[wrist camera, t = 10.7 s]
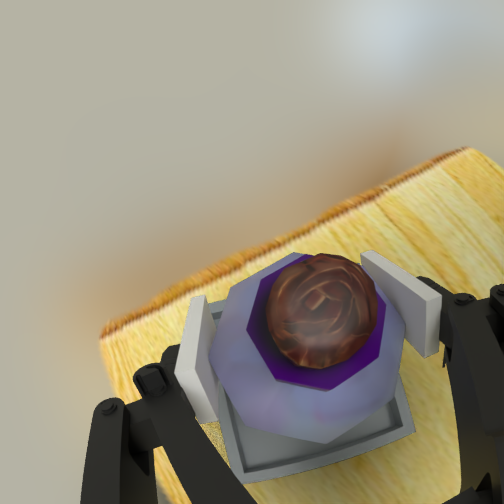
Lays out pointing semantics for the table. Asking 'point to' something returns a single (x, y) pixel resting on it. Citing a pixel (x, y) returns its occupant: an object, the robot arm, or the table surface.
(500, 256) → the table surface
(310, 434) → the potion bottle
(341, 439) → the tray
